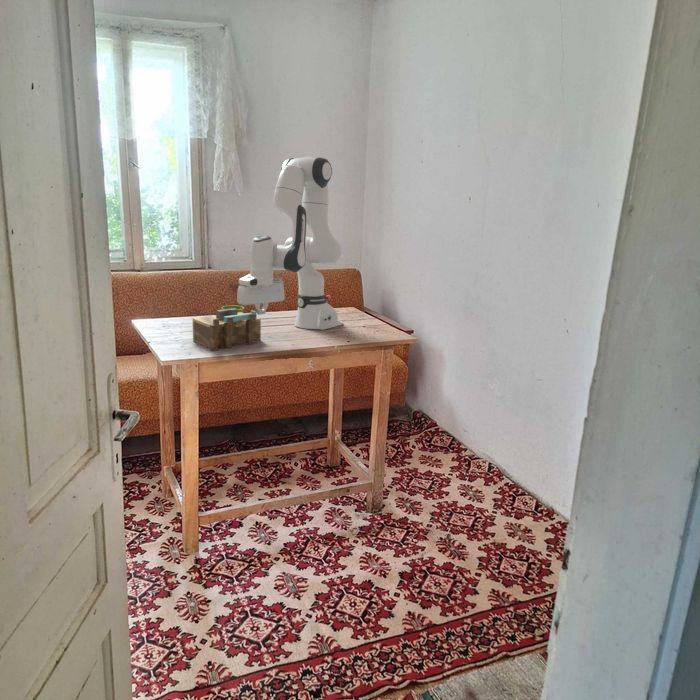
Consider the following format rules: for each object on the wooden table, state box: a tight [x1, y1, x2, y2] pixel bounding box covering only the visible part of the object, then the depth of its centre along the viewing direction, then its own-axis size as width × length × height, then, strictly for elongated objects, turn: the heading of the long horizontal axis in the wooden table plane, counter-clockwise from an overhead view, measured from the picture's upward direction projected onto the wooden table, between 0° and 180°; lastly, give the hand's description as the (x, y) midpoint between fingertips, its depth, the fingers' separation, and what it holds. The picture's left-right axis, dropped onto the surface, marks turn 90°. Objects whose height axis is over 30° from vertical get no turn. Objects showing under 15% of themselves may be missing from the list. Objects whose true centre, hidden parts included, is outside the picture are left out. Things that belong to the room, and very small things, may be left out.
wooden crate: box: [192, 314, 262, 352], centre depth 233 cm, size 23×18×12 cm
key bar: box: [224, 310, 258, 323], centre depth 228 cm, size 13×2×3 cm, turn 133°
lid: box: [192, 308, 262, 328], centre depth 233 cm, size 22×17×5 cm
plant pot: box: [221, 304, 245, 313], centre depth 257 cm, size 9×9×9 cm
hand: (261, 314), depth 234 cm, fingers closed
